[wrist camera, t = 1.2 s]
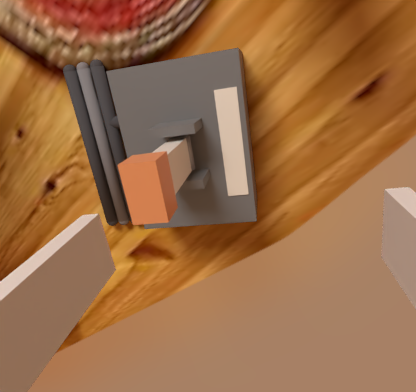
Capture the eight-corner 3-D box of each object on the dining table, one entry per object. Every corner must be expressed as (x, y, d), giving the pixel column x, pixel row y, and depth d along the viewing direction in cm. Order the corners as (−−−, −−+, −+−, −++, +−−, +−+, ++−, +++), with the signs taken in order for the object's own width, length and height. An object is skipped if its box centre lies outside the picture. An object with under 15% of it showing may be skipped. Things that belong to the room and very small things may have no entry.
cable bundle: (111, 223, 41) (106, 227, 40) (66, 65, 35) (58, 65, 33) (168, 218, 40) (165, 223, 38) (133, 53, 33) (128, 52, 32)
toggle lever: (175, 173, 30) (132, 225, 20) (167, 131, 29) (117, 164, 19) (199, 170, 30) (168, 222, 20) (193, 128, 28) (155, 160, 18)
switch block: (160, 206, 39) (132, 245, 31) (131, 71, 34) (86, 71, 25) (257, 198, 37) (256, 238, 28) (241, 52, 31) (235, 44, 23)
